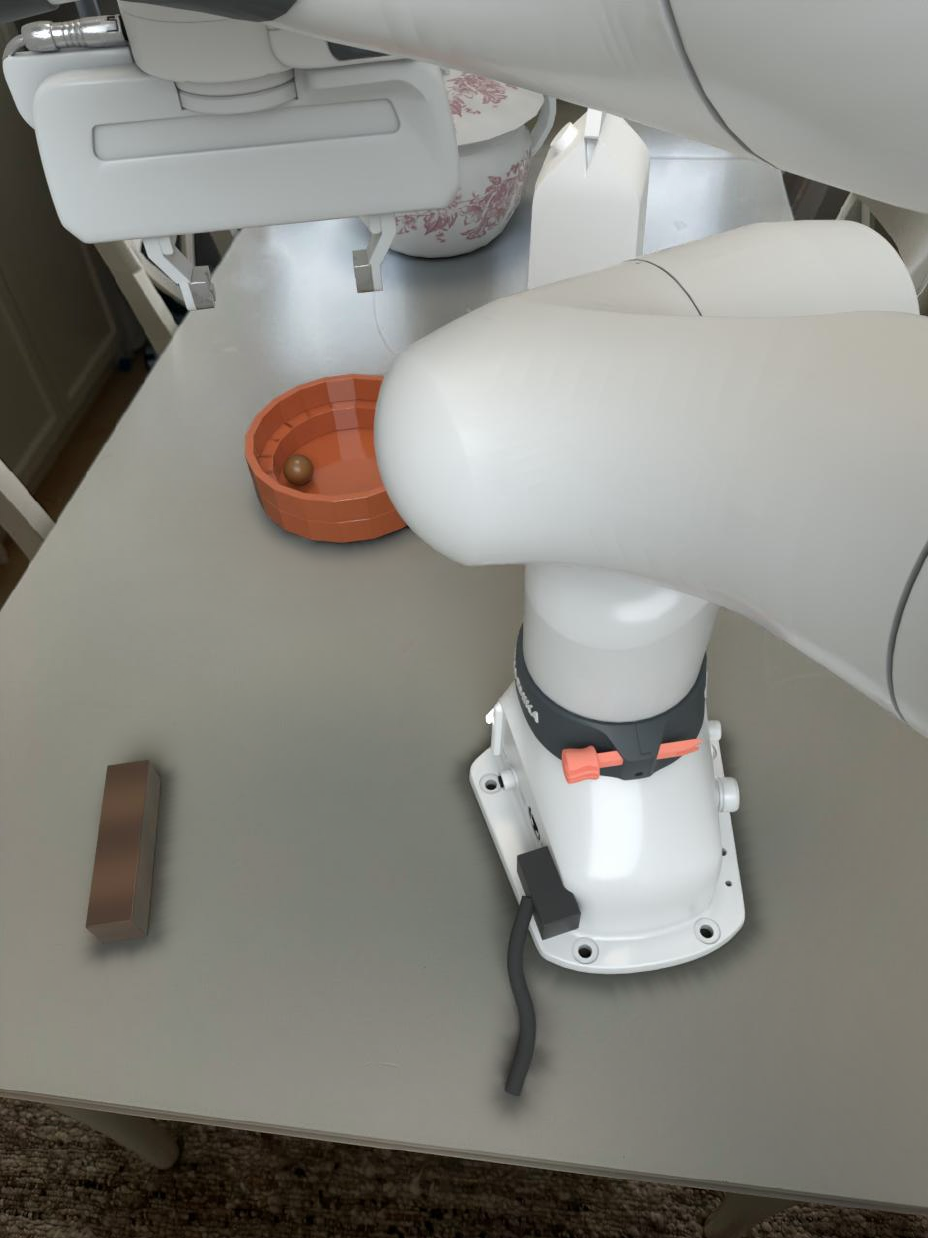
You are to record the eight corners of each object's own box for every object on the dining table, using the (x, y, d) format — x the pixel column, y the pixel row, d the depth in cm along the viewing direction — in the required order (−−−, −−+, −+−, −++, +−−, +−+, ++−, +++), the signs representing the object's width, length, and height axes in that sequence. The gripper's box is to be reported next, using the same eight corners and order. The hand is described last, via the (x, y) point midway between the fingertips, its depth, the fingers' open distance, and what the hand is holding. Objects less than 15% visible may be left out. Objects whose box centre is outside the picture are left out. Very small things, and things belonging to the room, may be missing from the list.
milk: (626, 371, 95) (657, 117, 75) (524, 361, 98) (527, 111, 77) (638, 312, 103) (669, 66, 83) (542, 304, 105) (550, 61, 85)
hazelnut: (317, 489, 84) (311, 465, 82) (286, 493, 84) (279, 469, 82) (315, 469, 86) (310, 445, 84) (285, 473, 86) (279, 449, 84)
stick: (147, 936, 58) (132, 920, 55) (102, 943, 58) (85, 928, 55) (161, 779, 65) (148, 759, 63) (121, 785, 65) (107, 765, 63)
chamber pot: (313, 279, 111) (280, 102, 95) (366, 182, 128) (346, 18, 112) (530, 292, 107) (534, 109, 91) (555, 190, 124) (562, 21, 108)
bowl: (458, 534, 81) (455, 485, 76) (258, 560, 79) (243, 513, 75) (434, 412, 92) (430, 364, 88) (259, 433, 91) (246, 386, 87)
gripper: (-34, 50, 36) (91, 346, 46) (458, 6, 37) (470, 306, 47) (0, 4, 40) (108, 286, 50) (442, -35, 41) (457, 250, 51)
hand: (286, 295), depth 49 cm, fingers open, 8 cm apart
